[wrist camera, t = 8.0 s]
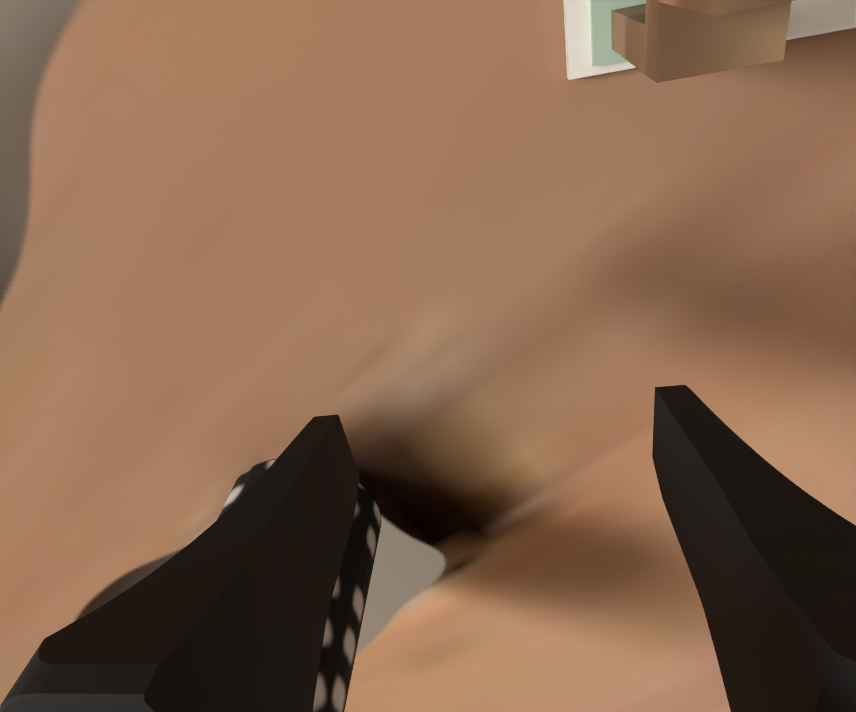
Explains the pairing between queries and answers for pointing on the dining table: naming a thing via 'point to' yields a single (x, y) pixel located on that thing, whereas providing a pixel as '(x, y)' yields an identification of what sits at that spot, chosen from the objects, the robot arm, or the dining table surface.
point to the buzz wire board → (809, 15)
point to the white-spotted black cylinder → (337, 594)
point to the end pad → (605, 29)
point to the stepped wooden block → (700, 35)
